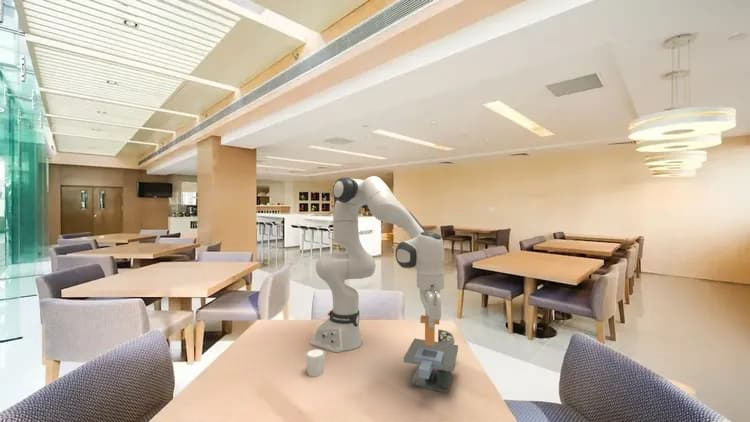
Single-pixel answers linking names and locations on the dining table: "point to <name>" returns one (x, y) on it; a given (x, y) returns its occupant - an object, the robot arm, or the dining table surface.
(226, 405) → the dining table surface
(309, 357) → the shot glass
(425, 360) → the bracket
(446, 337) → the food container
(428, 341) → the orange t-shaped block
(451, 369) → the metal plate
